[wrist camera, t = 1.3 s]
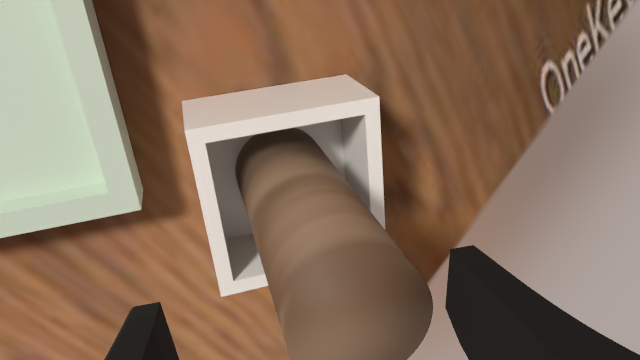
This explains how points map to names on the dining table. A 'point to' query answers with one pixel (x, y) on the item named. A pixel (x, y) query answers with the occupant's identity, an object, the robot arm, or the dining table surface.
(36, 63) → the tray
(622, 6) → the dining table surface
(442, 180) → the dining table surface
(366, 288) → the walnut dowel
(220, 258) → the square cup
